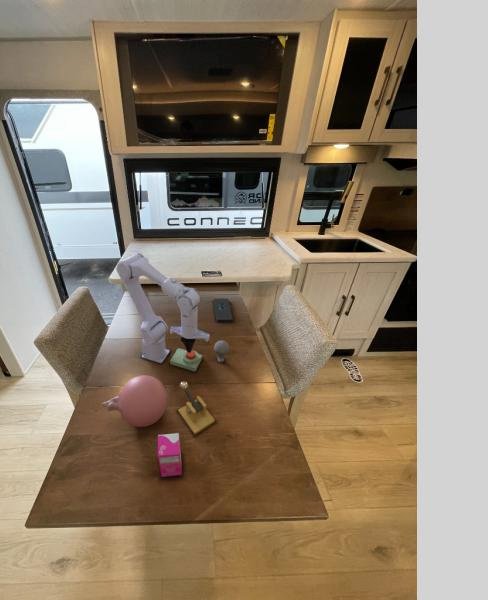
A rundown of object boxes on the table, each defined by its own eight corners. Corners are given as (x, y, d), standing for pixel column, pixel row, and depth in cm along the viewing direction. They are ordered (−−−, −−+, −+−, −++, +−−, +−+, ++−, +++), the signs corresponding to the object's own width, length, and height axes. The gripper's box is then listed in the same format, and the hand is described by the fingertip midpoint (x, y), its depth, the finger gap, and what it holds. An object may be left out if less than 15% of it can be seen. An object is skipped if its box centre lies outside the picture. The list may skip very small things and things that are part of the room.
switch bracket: (178, 411, 90) (177, 398, 86) (197, 400, 93) (197, 387, 90) (194, 435, 83) (194, 422, 79) (214, 422, 86) (215, 409, 83)
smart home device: (228, 298, 148) (233, 319, 131) (227, 300, 149) (233, 322, 132) (213, 298, 148) (216, 319, 131) (213, 300, 149) (216, 322, 132)
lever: (177, 385, 90) (178, 382, 88) (184, 381, 91) (186, 378, 89) (193, 415, 85) (195, 412, 83) (201, 410, 86) (203, 407, 84)
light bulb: (227, 366, 107) (229, 348, 102) (212, 364, 108) (213, 346, 103) (228, 356, 112) (230, 338, 106) (214, 354, 113) (215, 336, 108)
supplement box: (160, 456, 77) (158, 433, 71) (180, 454, 78) (180, 432, 71) (160, 478, 72) (157, 456, 66) (182, 476, 73) (181, 454, 67)
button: (184, 358, 106) (184, 355, 105) (188, 352, 109) (188, 349, 108) (193, 360, 105) (193, 357, 104) (196, 354, 108) (196, 351, 107)
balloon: (109, 401, 93) (101, 370, 85) (166, 392, 96) (163, 362, 88) (105, 443, 80) (95, 412, 72) (170, 432, 83) (168, 401, 75)
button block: (170, 364, 108) (169, 357, 106) (178, 351, 114) (178, 344, 112) (195, 372, 104) (195, 365, 102) (202, 358, 111) (202, 351, 109)
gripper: (212, 319, 94) (210, 348, 101) (174, 312, 98) (175, 340, 105) (206, 331, 88) (205, 360, 95) (166, 322, 92) (168, 351, 99)
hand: (189, 350), depth 100 cm, fingers closed
